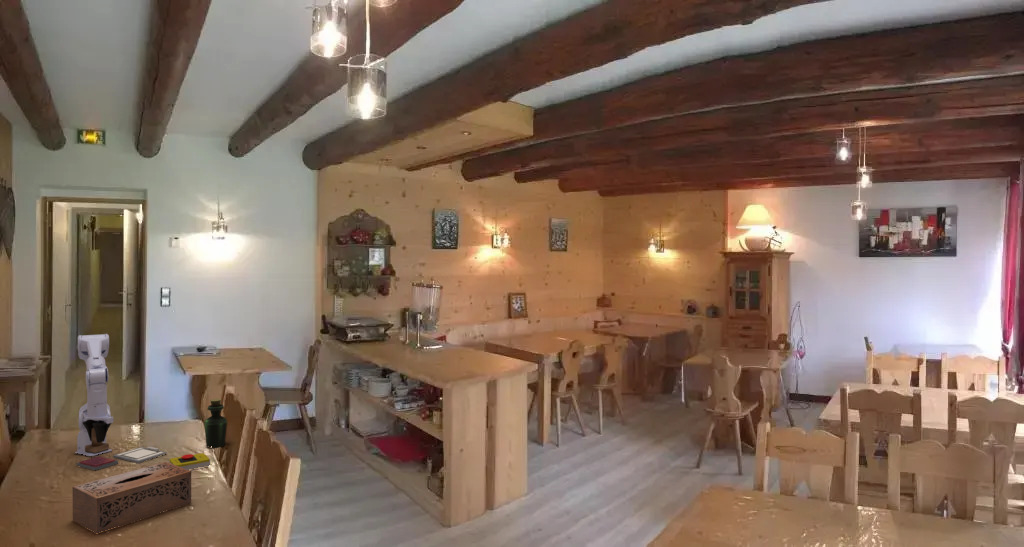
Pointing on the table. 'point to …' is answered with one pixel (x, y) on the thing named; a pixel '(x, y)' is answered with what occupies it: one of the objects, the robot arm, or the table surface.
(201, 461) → the emergency button
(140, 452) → the grey white rectangular board
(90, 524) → the tissue box cover
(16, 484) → the table surface
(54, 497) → the table surface
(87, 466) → the ink pad
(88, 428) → the robot arm
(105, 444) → the stamp
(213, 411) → the potion bottle
